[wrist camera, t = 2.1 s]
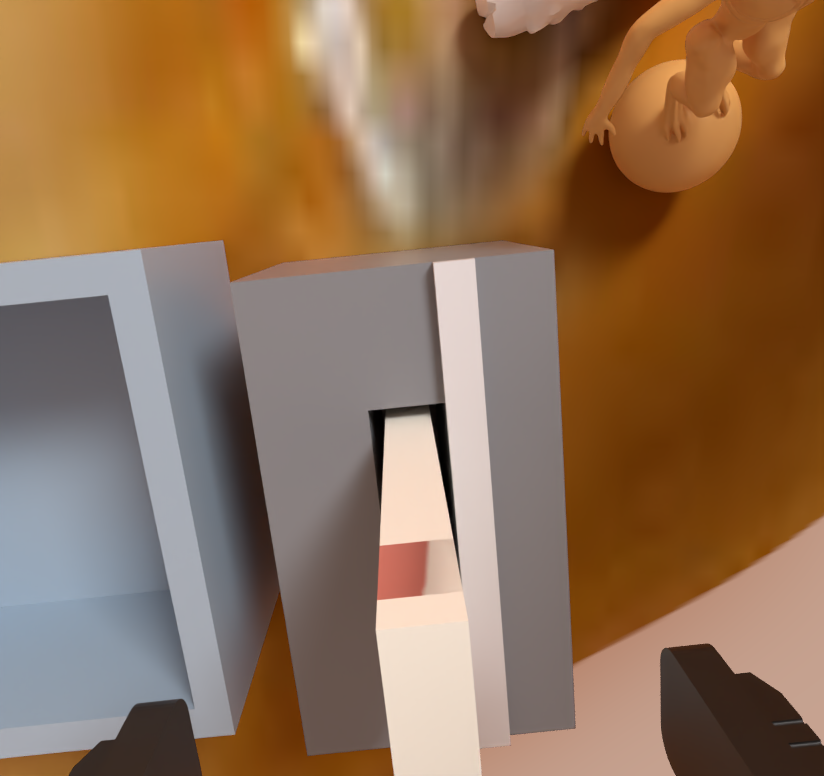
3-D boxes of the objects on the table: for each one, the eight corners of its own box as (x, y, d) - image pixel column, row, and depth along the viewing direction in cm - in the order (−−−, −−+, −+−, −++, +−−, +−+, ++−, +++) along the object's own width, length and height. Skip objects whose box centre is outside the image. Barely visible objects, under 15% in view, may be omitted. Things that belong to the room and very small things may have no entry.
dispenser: (282, 262, 24) (225, 284, 16) (502, 240, 24) (558, 250, 16) (331, 604, 27) (305, 766, 19) (524, 585, 28) (578, 738, 19)
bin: (223, 240, 24) (140, 249, 16) (280, 588, 27) (234, 734, 19) (-166, 279, 24) (-437, 308, 16) (-60, 623, 27) (-241, 783, 19)
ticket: (387, 366, 24) (375, 630, 9) (420, 363, 24) (467, 620, 9) (404, 518, 26) (419, 977, 10) (435, 515, 26) (498, 969, 10)
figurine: (569, 245, 24) (730, 268, 13) (492, 89, 23) (594, -47, 11) (780, 127, 23) (1162, 34, 12) (713, -42, 22) (1071, -337, 10)
